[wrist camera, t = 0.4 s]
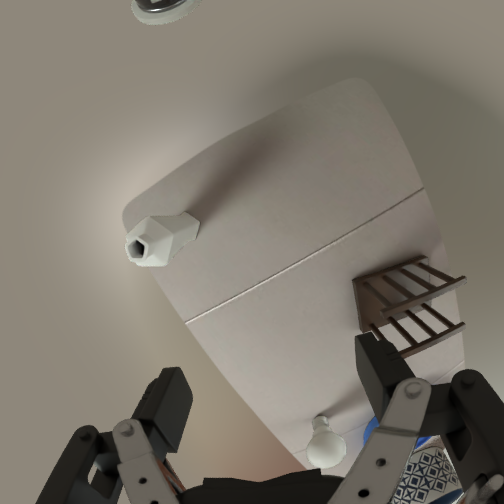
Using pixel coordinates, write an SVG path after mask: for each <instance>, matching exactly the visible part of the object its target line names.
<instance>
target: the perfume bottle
mask: <svg viewBox="0 0 504 504" xmlns="http://www.w3.org/2000/svg"><path fill="white" fill-rule="evenodd" d="M199 225H200V222H199V221H198V220H197V219H195V218H194V217H192V216H191V215H189V214H188V213H187V212H183V213H182V214H181V215H180V216H147V217H145V218H144V219H143V220H142V221H141V222H140V223H139V224H137V225H136V226H135V227H134V228H133V229H132V230H131V231H130V232H129V233H128V234H127V235H126V238H127V241H128V242H127V243H126V244H125V250H126V252H127V255H128V258H129V260H130V261H132V262H136V264H137V265H138V266H166V265H167V264H168V263H169V262H170V261H171V260H172V258H173V257H174V256H175V255H176V254H177V253H178V252H179V251H180V250H181V249H182V248H183V247H184V246H185V244H186V243H187V242H188V241H194V240H195V239H196V236H197V232H198V229H199Z"/></svg>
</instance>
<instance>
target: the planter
mask: <svg viewBox="0 0 504 504" xmlns="http://www.w3.org/2000/svg"><path fill="white" fill-rule="evenodd" d="M462 493H463V489H462V486H461V484H460V481H459V479H458V476H457V474H456V472H455V471H454V469H453V467H452V465H451V464H450V462H449V460H448V459H447V457H446V455H445V454H444V452H443V450H442V449H441V448H439V447H433V448H428V449H425V450H422V451H419V452H417V453H415V454H413V455H412V457H411V460H410V462H409V465H408V467H407V469H406V472H405V474H404V476H403V479H402V481H401V483H400V485H399V487H398V490H397V492H396V494H395V496H394V498H393V499H392V501H391V503H393V504H452V503H453V502H454V501H455V500H457V499H458V498H459V497H460V495H461V494H462Z"/></svg>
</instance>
